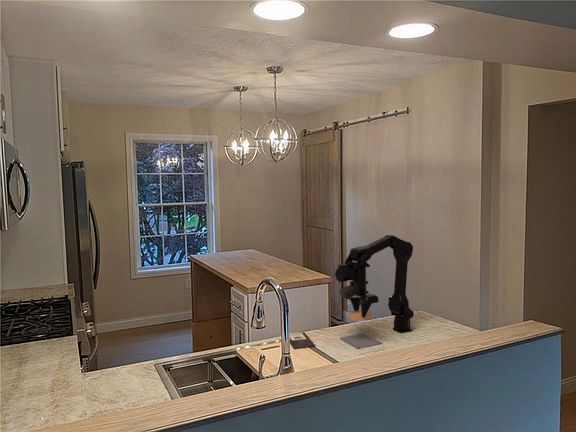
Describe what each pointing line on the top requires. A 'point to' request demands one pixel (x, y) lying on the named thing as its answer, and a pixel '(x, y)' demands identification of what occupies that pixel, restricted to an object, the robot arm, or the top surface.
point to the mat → (360, 340)
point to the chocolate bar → (300, 341)
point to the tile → (359, 315)
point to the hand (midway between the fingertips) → (360, 315)
